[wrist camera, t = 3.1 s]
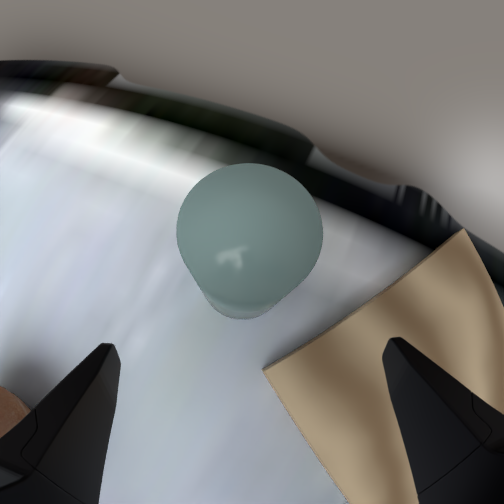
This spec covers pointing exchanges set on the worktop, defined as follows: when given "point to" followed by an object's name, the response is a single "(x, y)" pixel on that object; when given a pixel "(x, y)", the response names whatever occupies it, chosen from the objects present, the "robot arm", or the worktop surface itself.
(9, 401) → the onion
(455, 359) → the oak board
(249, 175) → the ceramic jar
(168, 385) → the worktop surface
